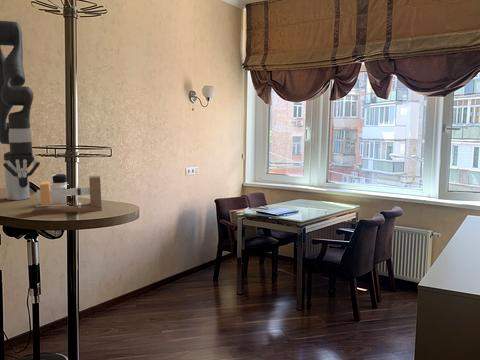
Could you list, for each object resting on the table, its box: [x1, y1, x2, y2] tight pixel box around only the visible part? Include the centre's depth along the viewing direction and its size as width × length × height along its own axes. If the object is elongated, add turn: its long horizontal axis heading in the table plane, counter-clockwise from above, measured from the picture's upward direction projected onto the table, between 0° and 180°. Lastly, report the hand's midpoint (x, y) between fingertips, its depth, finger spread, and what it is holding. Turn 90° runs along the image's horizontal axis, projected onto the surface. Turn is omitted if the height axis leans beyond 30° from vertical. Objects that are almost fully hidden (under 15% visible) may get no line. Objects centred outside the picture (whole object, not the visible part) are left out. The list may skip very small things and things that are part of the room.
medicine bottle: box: [50, 173, 68, 205], centre depth 191 cm, size 7×7×12 cm
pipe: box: [36, 187, 90, 198], centre depth 176 cm, size 2×19×2 cm, turn 109°
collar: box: [39, 180, 52, 206], centre depth 173 cm, size 8×3×8 cm, turn 19°
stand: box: [33, 175, 103, 215], centre depth 176 cm, size 10×24×12 cm, turn 109°
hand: (23, 187), depth 171 cm, fingers closed
